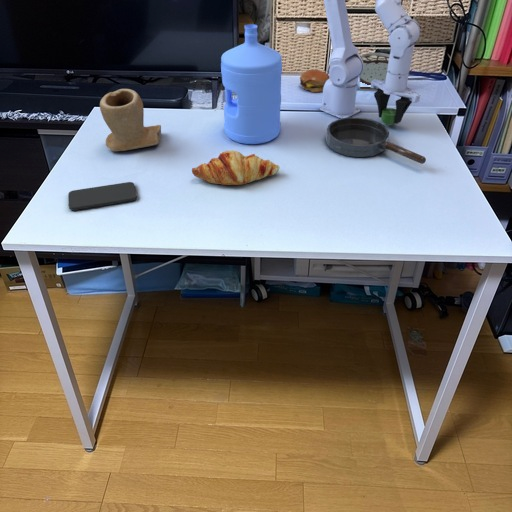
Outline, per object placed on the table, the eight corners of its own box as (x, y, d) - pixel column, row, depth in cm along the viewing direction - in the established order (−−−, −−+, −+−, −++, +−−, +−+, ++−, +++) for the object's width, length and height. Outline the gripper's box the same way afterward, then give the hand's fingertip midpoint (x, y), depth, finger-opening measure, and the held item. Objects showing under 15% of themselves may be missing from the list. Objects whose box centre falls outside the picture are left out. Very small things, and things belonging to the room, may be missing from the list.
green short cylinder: (376, 123, 140) (378, 110, 138) (386, 118, 143) (389, 105, 140) (390, 129, 138) (393, 116, 135) (400, 123, 140) (403, 110, 137)
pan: (313, 142, 134) (314, 130, 131) (351, 123, 142) (353, 112, 140) (361, 164, 125) (363, 152, 122) (399, 143, 133) (401, 131, 131)
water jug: (283, 121, 143) (287, 18, 125) (275, 147, 131) (278, 38, 113) (231, 117, 145) (226, 15, 127) (218, 143, 134) (212, 34, 115)
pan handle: (379, 148, 127) (380, 141, 126) (384, 145, 128) (385, 138, 127) (421, 166, 120) (423, 159, 119) (426, 163, 121) (428, 156, 120)
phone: (137, 197, 113) (68, 208, 110) (137, 200, 113) (69, 211, 110) (133, 181, 118) (68, 190, 115) (134, 184, 119) (69, 193, 115)
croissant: (276, 179, 126) (275, 147, 124) (284, 182, 116) (282, 148, 114) (193, 185, 123) (190, 152, 122) (193, 188, 114) (190, 153, 112)
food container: (391, 83, 163) (396, 52, 157) (393, 91, 159) (398, 59, 152) (353, 82, 164) (357, 51, 158) (354, 89, 160) (358, 58, 153)
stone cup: (107, 160, 127) (94, 104, 117) (106, 138, 136) (94, 85, 126) (166, 152, 130) (158, 98, 120) (161, 132, 139) (154, 79, 129)
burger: (326, 80, 166) (327, 66, 163) (332, 92, 159) (333, 77, 156) (297, 82, 165) (297, 68, 162) (301, 93, 158) (302, 79, 155)
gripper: (366, 67, 132) (360, 115, 141) (413, 83, 124) (403, 132, 133) (382, 61, 136) (375, 108, 145) (428, 75, 128) (417, 124, 137)
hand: (389, 119), depth 139 cm, fingers closed on green short cylinder, 5 cm apart
